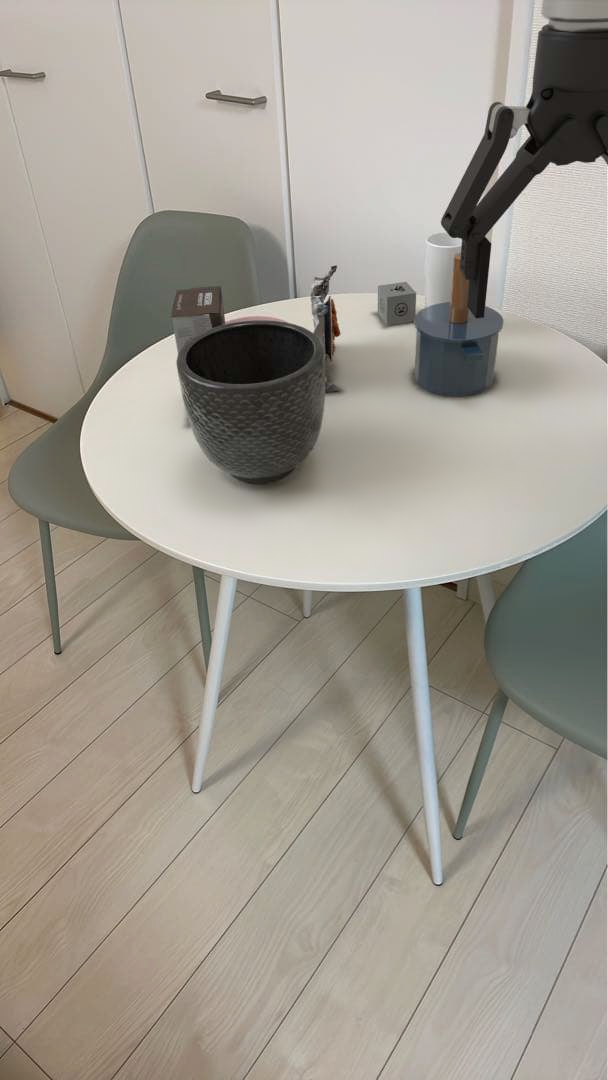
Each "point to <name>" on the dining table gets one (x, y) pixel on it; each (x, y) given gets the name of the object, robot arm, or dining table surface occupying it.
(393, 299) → the dice cube
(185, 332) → the coffee box
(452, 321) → the lid
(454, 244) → the drinking glass
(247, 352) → the planter
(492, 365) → the pot
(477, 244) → the robot arm
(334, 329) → the meal
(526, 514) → the dining table surface
